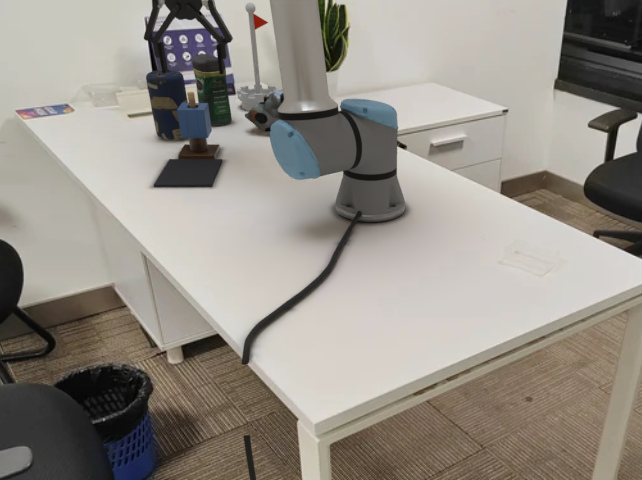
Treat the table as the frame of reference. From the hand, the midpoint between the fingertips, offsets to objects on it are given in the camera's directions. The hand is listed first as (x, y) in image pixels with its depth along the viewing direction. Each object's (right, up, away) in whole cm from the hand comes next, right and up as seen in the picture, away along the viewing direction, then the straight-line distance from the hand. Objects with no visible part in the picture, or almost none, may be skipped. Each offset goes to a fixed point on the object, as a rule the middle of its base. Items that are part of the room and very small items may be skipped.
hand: (193, 72), depth 168 cm
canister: (-12, -10, +21) cm, 27 cm away
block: (-2, -13, +8) cm, 15 cm away
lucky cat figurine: (+13, -4, +31) cm, 34 cm away
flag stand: (+4, +9, +50) cm, 51 cm away
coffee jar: (-5, -1, +35) cm, 35 cm away
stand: (-2, -17, +10) cm, 20 cm away
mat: (0, -25, -2) cm, 25 cm away
